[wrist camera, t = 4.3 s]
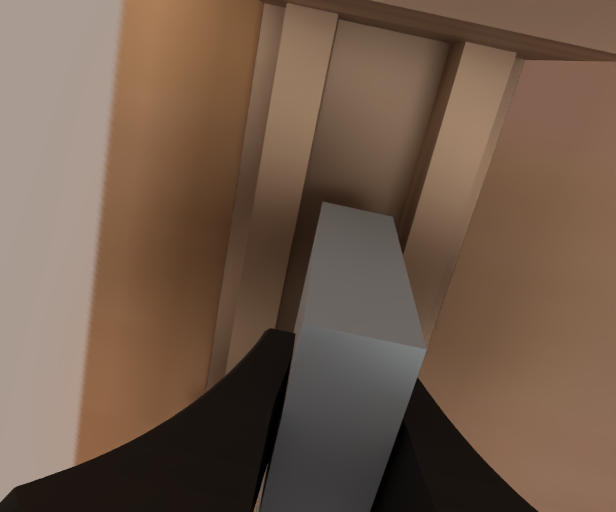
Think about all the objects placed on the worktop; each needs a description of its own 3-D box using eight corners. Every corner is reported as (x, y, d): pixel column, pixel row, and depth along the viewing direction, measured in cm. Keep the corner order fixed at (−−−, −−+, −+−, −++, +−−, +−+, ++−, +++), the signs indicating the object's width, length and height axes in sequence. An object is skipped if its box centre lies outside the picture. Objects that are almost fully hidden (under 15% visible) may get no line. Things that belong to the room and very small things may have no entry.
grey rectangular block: (332, 429, 15) (323, 643, 10) (274, 417, 15) (234, 624, 10) (392, 216, 13) (426, 350, 7) (322, 201, 13) (303, 323, 7)
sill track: (387, 446, 19) (407, 636, 13) (206, 408, 19) (138, 581, 13) (542, -21, 13) (719, -91, 7) (281, -78, 13) (222, -200, 7)
